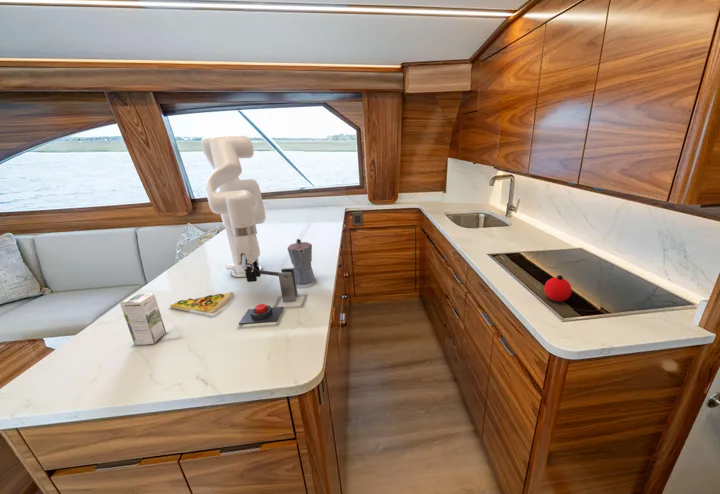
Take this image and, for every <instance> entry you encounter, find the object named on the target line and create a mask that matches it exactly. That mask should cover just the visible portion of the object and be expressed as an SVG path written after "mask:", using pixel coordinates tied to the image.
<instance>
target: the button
mask: <svg viewBox="0 0 720 494" xmlns="http://www.w3.org/2000/svg"><path fill="white" fill-rule="evenodd" d="M266 305H267V304H265V303H259V304H257V305H255V306H254V308H255V313H257V314H258V313H264V312H266V311H267V307H266Z"/></svg>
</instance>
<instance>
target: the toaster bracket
mask: <svg viewBox="0 0 720 494" xmlns="http://www.w3.org/2000/svg"><path fill="white" fill-rule="evenodd" d="M280 271H281V272H279V274H278V275H279V276H278V281H279V285H280V286H279V287H280V292H281V299H282V303H296V300H297V298H296V297H298V296H299V293H298V286H297V284H296V279H295V272H294V267H285V268H284V267H283V268H281V270H280ZM284 271H291V272H285V273H283V272H284Z"/></svg>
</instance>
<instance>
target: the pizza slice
mask: <svg viewBox="0 0 720 494" xmlns="http://www.w3.org/2000/svg"><path fill="white" fill-rule="evenodd" d="M233 296H234V291H228V292H226V293H218V294H217V293H216V294H209V295H206V296H202V297H197V298H194V299H193V298H192V297H191V298H188V299H186V300H185V299H180V300H178V301H177V302H175V303H172V304H169V307H170V308H171V309H173V310H174V309H175V310H180V311H184V312H191V310H192V311H196V312H197V311H198V312H202V313H207V314H210V315H211V314H212V315H213V314H216V313H217V312H218V311H219V310H221V309H223V308H224V307H225V306H226V305H228V303H229V302H230V301H231V299H233Z"/></svg>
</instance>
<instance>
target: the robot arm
mask: <svg viewBox="0 0 720 494" xmlns="http://www.w3.org/2000/svg"><path fill="white" fill-rule="evenodd" d="M200 146H201V149H202V152H203V154H204V157H205V158H206V160H207V161H208V163H209V164H210V166H211V167H212V169H213V171H212V172H211V173H210V174H209V176H208V178H207V180H206V183H205V192H206V197H207V202H208V206H209V209H210V211H211V212H212V213H213V214H216V215H220V218H221V221H222V224H223V226H224V229H225V232H226V236H227V239H228V244H229V249H230V252H231V257H232V258H231V259H232V262H233V263H228V264H225V269H226V270H227V271H230V270H231V275H232V276H233V277H235V278H246V282H248V283H254V282H257V281H258V278H261V275H262V274H257V273H256V272H255V271H254V267H255V268H256V269H257V270H262V271H263V268H262V266H261V265H260V264H259V257H260V255H261V251H260V246H259V240H258V237H257V234H258V230H257V229H258V228H257V225H260V224H264V222H265V221H266V212H265V206H264V202H263V197H262V192H261V188H260V185H259V183H258V181H257V180H255V179H253V178H239V177H240V176H241V174H242V171H243V169H242V164H241V161H240V159H251V158H253V156H254V146H253V143H252V141H251V138H249V137H248V136H247V135H208V136H204V137H203V138H201V140H200ZM217 190H218V191H217ZM216 191H217V192H216Z"/></svg>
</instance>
